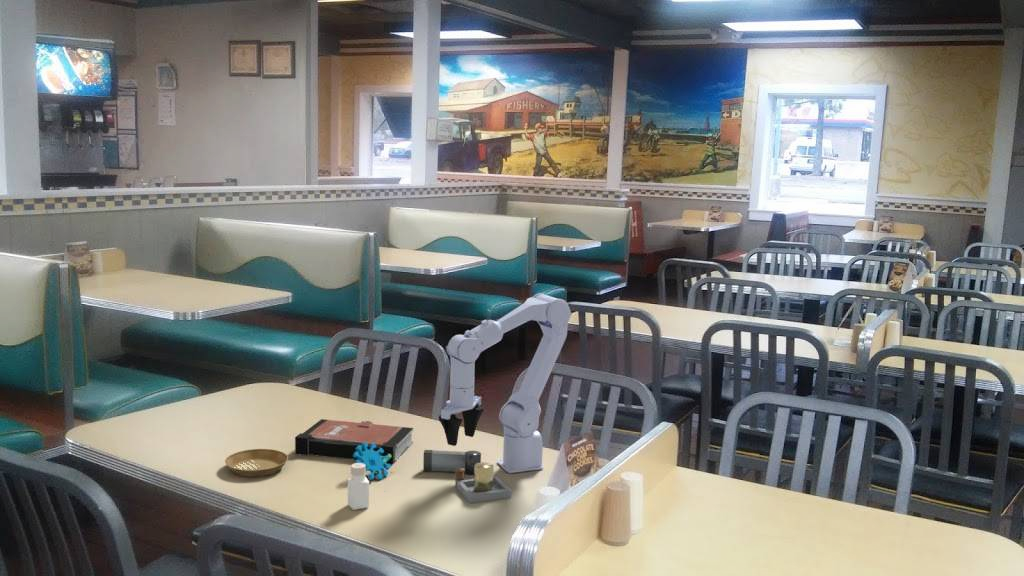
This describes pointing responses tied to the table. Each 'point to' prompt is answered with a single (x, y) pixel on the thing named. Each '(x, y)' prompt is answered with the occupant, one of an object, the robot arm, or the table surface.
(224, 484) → the table surface
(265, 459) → the shallow brown basket
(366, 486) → the salt shaker
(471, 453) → the crank
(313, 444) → the book
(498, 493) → the tray
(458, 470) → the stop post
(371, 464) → the gear
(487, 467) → the cylinder
